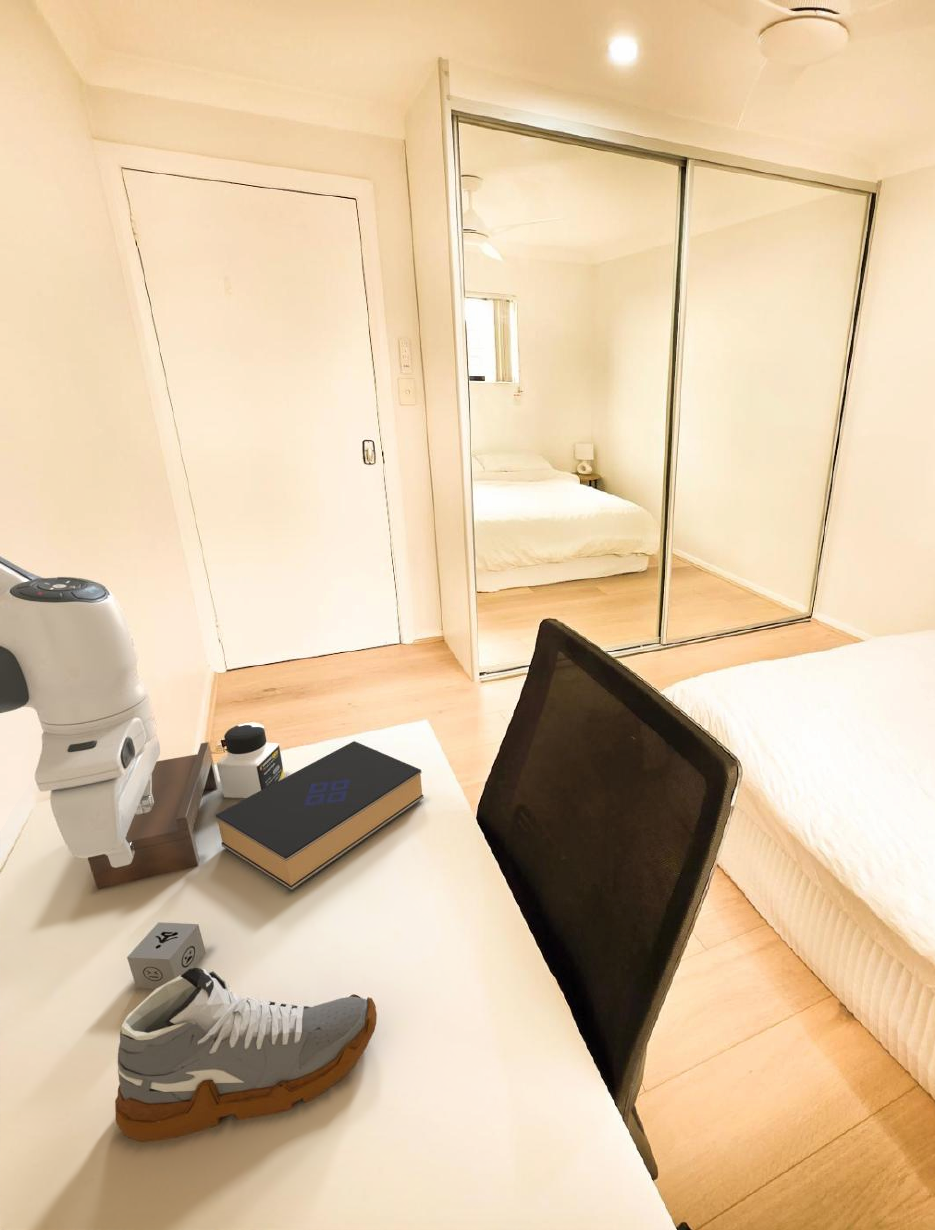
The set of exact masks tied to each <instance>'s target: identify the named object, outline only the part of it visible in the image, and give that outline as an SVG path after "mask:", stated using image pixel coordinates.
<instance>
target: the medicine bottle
mask: <svg viewBox="0 0 935 1230" xmlns="http://www.w3.org/2000/svg"><path fill="white" fill-rule="evenodd" d="M266 735H267V734H266V729H265V727H264V725H262V724H260V723H258V722H245V723H241V724H240V723H239V724H238V725H235V726H233V727H231V728H229V729H228V730H226V732H225V733H224V735H223V737H224V743H225V748H226V752H227V753H226V755H224V756H223V757H222V758H221V759H220V760H218V762H216V767H217V772H218V776H219V780H220V785H221V790H222V795H223V797H224V798H230V799H231V798H232V799H246V798H248V797H250V796H251V795H253V794H255V793H257V792H259V791H261V790H263V789H265V788H266V787H268V786H270V785H272V784H274V783H276V782H278V781H280V780H282V779H283V778H285V772H284V771H285V770H284V766H283V761H282V754H281V749H280V744H279V743H276V742H268V741H267V736H266Z"/></svg>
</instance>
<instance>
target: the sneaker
mask: <svg viewBox="0 0 935 1230" xmlns="http://www.w3.org/2000/svg"><path fill="white" fill-rule="evenodd" d="M376 1008H377V1006H376V1004H375V1002H374V1000H373V998H372V997H370V996H368V997H367V998H362V997H361V996H360V995H358V994H351V995H350V996H347V997H341V998H337V999H334V1000H330V1001H327V1002H323V1003H321V1004H317V1005H314V1006H309V1005H301V1004H297V1005H295V1004H293V1003H290V1002H286V1003H283V1002H282V1001H272V1000H264V1001H260V999H258V998H254V997H253V998H248V997H246V996H244V997H240V996H239V995H237V994H235V993H234V992H232V991H231V989H230V986H229V985H228V983H227V982H226V981H225V980H223V979H222V978H221V977H220V976H219V975H218V974H217V973H216V972H215V971H214V970H213V971H210V972H208V970H207V969H205V968H200V967H195V968H193V969H189V970H188V971H186V972H185V973H184V974H182V975H180V976H178V977H176V978H174V979H173V980H171V981H169V982H167V983H165V984H164V985H162V986H160V987H158V988H157V989H155V988H154V990H153V991H152V992H151V993H149V995H148V996H146V998H145V999H143V1000H142V1001H141V1002H140V1003H139V1004H138V1005H137V1006H136V1007H135V1008H133V1009H132V1011H130V1012H129V1013H128V1014H127V1015H126V1017H125V1019H124V1021H123V1022H122V1024H121V1027H120V1028H121V1029H120V1032H119V1044H118V1049H117V1051H118V1052H117V1074H118V1075H117V1076H118V1083H119V1084H118V1088H117V1096H116V1098H115V1100H114V1108H115V1112H114V1113H115V1114H114V1115H115V1122H116V1124H117V1126H118V1127H119V1129H120V1131H121V1133H122V1134H123V1135H124V1136H125V1137H128V1138H131V1139H133V1140H135V1141H138V1142H140V1143H148V1142H155V1141H160V1140H161V1141H162V1140H169V1139H174V1138H179V1137H182V1136H186V1135H190V1134H193V1133H197V1132H200V1131H203V1130H207V1129H210V1128H212V1127H215V1126H218V1125H219V1124H220V1122H221V1119H222V1117H227V1116H232V1115H235V1116H236V1118H237V1119H238V1120H239V1121H243V1120H248V1119H253V1118H254V1119H255V1118H258V1117H264V1116H269V1115H275V1114H280V1113H284V1112H288V1111H290V1110H292V1108H293V1106H294V1103H295V1102H296V1103H297V1102H299V1101H300V1100H303V1102H304V1103H309V1102H311V1101H312V1100H314V1099H316V1098H317V1097H319V1095H322V1094H323V1093H324V1092H326V1091H327V1090H328V1089H330V1088H331V1087H332V1086H334V1085H335V1084H337V1083H338V1082H339V1081H341V1080H342V1079H344V1078H345V1077H346V1076H347V1075H348V1073H349V1072H350V1071H351V1070H352V1069H353V1068H354V1066H355V1065H356V1064H357V1062H359V1059H360V1058H361V1057H362V1055H363V1054H364V1052H365V1051H366V1048H367V1046H368V1044H369V1042H370V1040H371V1039H372V1037H373V1034H374V1033H375V1030H376V1025H377V1014H378V1013H377V1009H376Z"/></svg>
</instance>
